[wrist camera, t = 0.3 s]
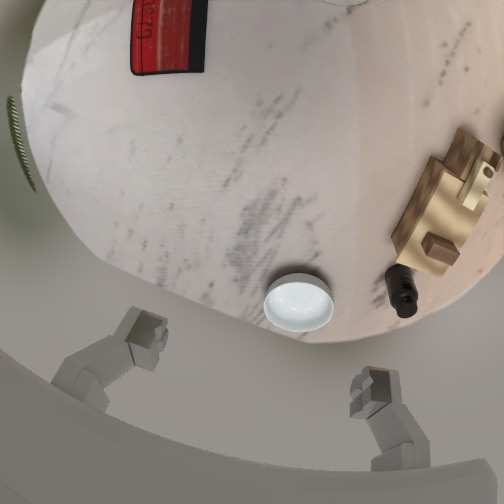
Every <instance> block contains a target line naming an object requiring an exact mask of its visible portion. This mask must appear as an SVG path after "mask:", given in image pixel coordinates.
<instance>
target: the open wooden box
mask: <svg viewBox="0 0 504 504" xmlns="http://www.w3.org/2000/svg"><path fill="white" fill-rule="evenodd" d="M476 158H477V159H478V160H480V161H481V160H483V161H485V162H486V163H488V164H489V165H491V166H492V167H493V168H494V170H495V171H496V172H498V170H499V168H500V166H501V164H502V161H503V159H504V158H503V157H501V156H500V155H499V154H497V153H496V152H494V151H493V150H491V149H490V148H489V147H487V145H485V144H484V143H482V142H480V141H479V140H477V139H475V138H474V137H472V136H470V135H469V134H467V133H465V132H463V131H462V130H460V129H457V132H456V134H455V137H454V139H453V142H452V144H451V146H450V149H449V151H448V153H447V156H446V158H445V160H444V162H441V161H439V160H438V159H436V158H434V157H432V156H431V157H430V159H429V162H428V164H427V166H426V168H425V170H424V173H423V175H422V177H421V179H420V181H419V183H418V185H417V187H416V190H415V192H414V194H413V196H412V198H411V200H410V202H409V204H408V206H407V208H406V210H405V212H404V213H403V215H402V217H401V219H400V221H399V223H398V225H397V227H396V229H395V230H394V232H393V234H392V236H391V238H392V241H393V243H394V246H395V249H396V252H397V254H398V252H399V251H400V249H401V247H402V246H403V244H404V242H405V241H406V239H407V237H408V235H409V234H410V232H411V230H412V228H413V227H414V225H415V223H416V221H417V219H418V217H419V216H420V214H421V212H422V210H423V208H424V206H425V204H426V202H427V200H428V198H429V196H430V195H431V193H432V190H433V188H434V186H435V184H436V182H437V180H438V178H439V176H440V174H441V172H442V170H444V171H446V172H448V173H450V174H452V175H453V176H455V177H457V178H459V179H460V180H462V181H464V182H466V180H467V178H468V176H469V174H470V172H471V170H472V167H473V165H474V163H475V161H476ZM483 193H484V194H485V195H487V193H486V192H485V191H484V192H483Z"/></svg>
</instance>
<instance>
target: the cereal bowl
mask: <svg viewBox="0 0 504 504" xmlns="http://www.w3.org/2000/svg"><path fill="white" fill-rule="evenodd" d="M264 312H265V314H266V316H267V318H268V319H269V320H270V321H271V322H272V323H273V324H274V325H276V326H277V327H279V328H282V329H284V330H287V331H292V332H308V331H313V330H316V329H318V328H320V327H322V326H324V325H325V324H326V323H327V322H328V321H329V320H330V319H331V317H332V315H333V312H334V300H333V296H332V293H331V291H330V289H329V288H328V286H327V285H326V284H325V283H324V282H323V281H321V280H320V279H318V278H317V277H315V276H312V275H309V274H304V273H294V274H289V275H285V276H283V277H281V278H279V279H277V280H276V281H275V282H273V284H271V286H270V287H269V289H268V291H267V293H266V295H265V299H264Z"/></svg>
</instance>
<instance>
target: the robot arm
mask: <svg viewBox="0 0 504 504" xmlns="http://www.w3.org/2000/svg"><path fill="white" fill-rule="evenodd" d="M324 1H326V2H329V3H332V4H337V5H356V4H360V3H363V2H365V1H367V0H324ZM167 323H168V321H167V318H165V317H162V316H159V315H157V314H154V313H151V312H148V311H145V310H143V309H140V308H137V307H134V306H132V307H131V308H129V310H128V311H127V313H126V315H125V316H124V318H123V320H122V321H121V323H120V324H119V326H118V328H117V330H116V331H115V333H114V335H113V336H111V335H109V336H107V337H105V338H103V339H101V340H99V341H97V342H96V343H93V344H91V345H89V346H88V347H86V348H84V349H82V350H80V351H78V352H76V353H74V354H72V355H70V356H69V357H67V358H65V359H64V361H63V363H62V364H61V366H60V368H59V369H58V371H57V373H56V375H55V376H54V378H53V380H52V381H51V383H49V382H47V381H46V380H44V379H43V378H41V377H39V376H38V375H36V374H35V373H33V372H32V371H30V370H29V369H27V368H26V367H25V366H23V365H22V364H20V363H19V362H17V361H16V360H15V359H13V358H12V357H11V356H9V355H8V354H7V353H5V352H4V351H3V350H2V349H0V504H497V478H496V475H495V473H494V471H493V469H492V468H491V466H490V465H489V463H488V462H487V461H486V459H484V458H477V459H472V460H468V461H463V462H458V463H452V464H447V465H441V466H434V467H431V466H430V445H429V440H428V438H427V437H426V435H425V434H424V432H423V431H422V429H421V428H420V426H419V425H418V423H417V422H416V420H415V419H414V417H413V416H412V414H411V413H410V411H409V410H408V408H407V407H406V405H405V404H402V396H401V387H400V378H399V373H398V371H396V370H390V369H385V368H377V367H370V366H366V367H364V368H363V369H362V373H361V374H359V375H356V376H355V378H354V379H353V381H352V383H351V387H350V396H351V397H352V399H353V401H352V402H351V403H350V418H358V419H367V420H366V421H367V423H368V425H369V427H370V429H371V431H372V433H373V435H374V437H375V440H376V442H377V444H378V446H379V448H380V450H381V452H382V454H380V455H378V456H376V457H374V458H373V459H372V460H371V471H370V472H352V471H326V470H313V469H302V468H293V467H285V466H277V465H271V464H265V463H259V462H254V461H249V460H244V459H239V458H234V457H229V456H225V455H222V454H217V453H214V452H210V451H206V450H202V449H199V448H195V447H192V446H188V445H185V444H182V443H179V442H176V441H173V440H170V439H167V438H164V437H161V436H159V435H156V434H153V433H151V432H148V431H145V430H143V429H140V428H138V427H135V426H133V425H130V424H128V423H126V422H123V421H121V420H119V419H117V418H114V417H112V416H110V415H108V414H106V413H105V411H106V409H107V407H108V404H109V402H110V401H109V398H108V397H107V395H106V393H105V392H104V390H103V389H104V388H105V387H106V386H108V385H109V384H111V383H112V382H113V381H115V380H117V379H118V378H120V377H121V376H122V375H124V374H125V373H126V372H128V371H129V370H131V369H132V368H134V367H135V366H137V367H140V368H143V369H146V370H149V371H152V372H154V370H155V368H156V365H157V363H158V361H159V353H160V352H162V351H163V350H164V348H165V345H166V342H167V338H168V329H167V328H166V326H167Z"/></svg>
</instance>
